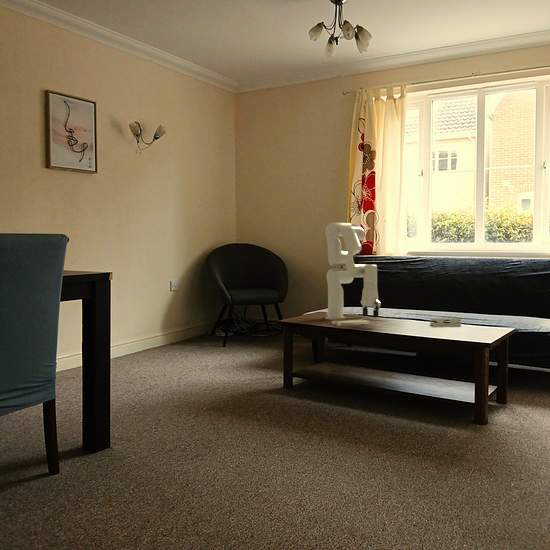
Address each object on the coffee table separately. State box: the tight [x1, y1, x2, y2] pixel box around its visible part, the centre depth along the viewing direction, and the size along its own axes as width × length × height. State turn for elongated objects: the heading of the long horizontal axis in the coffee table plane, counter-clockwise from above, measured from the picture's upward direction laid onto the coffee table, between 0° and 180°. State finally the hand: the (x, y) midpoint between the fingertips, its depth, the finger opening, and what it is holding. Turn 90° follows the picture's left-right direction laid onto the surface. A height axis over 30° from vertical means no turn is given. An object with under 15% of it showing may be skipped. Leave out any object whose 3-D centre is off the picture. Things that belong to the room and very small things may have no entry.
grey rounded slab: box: [429, 317, 462, 328], centre depth 321 cm, size 17×5×10 cm
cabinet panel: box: [331, 316, 372, 327], centre depth 326 cm, size 10×20×4 cm, turn 118°
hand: (370, 316), depth 318 cm, fingers open, 9 cm apart
